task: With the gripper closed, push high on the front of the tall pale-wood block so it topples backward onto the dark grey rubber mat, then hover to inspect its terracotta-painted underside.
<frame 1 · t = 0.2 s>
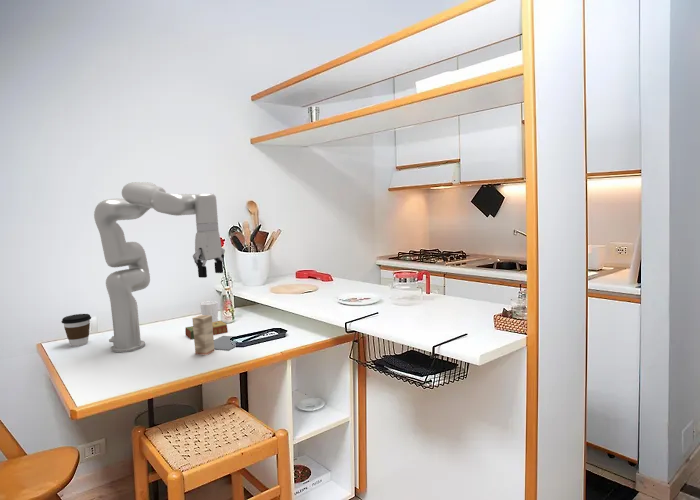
hand: (211, 275, 172), 31 cm above the table, tool pointing down, fingers open, 9 cm apart
white cup: (210, 323, 226), on the table
rubber mat: (225, 343, 192), on the table
carton: (206, 335, 207), on the table
wood block: (205, 352, 181), on the table
coffee cup: (79, 344, 200), on the table
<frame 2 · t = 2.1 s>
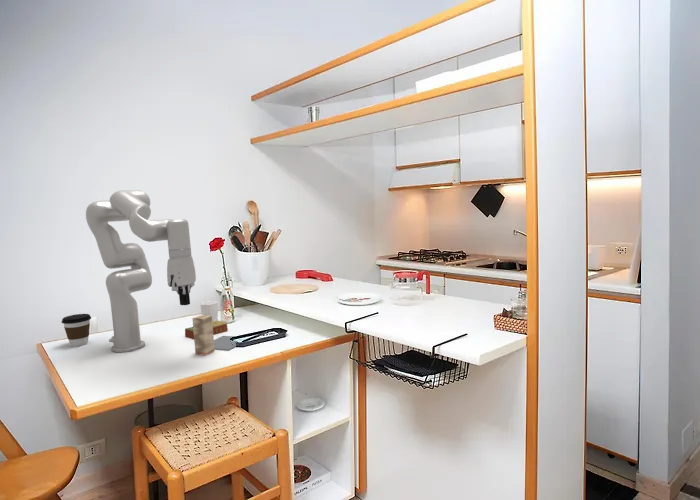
hand: (185, 304, 170), 21 cm above the table, tool pointing down, fingers closed
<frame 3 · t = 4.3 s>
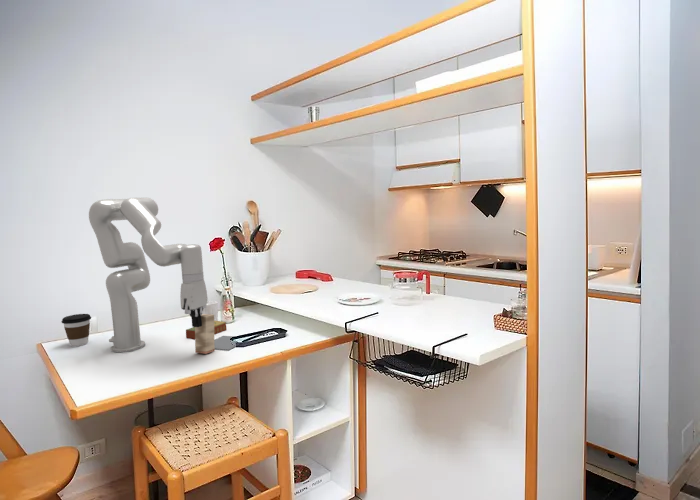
hand: (197, 326, 177), 11 cm above the table, tool pointing down, fingers closed
wood block: (205, 351, 181), on the table, tilted 6°, touching gripper
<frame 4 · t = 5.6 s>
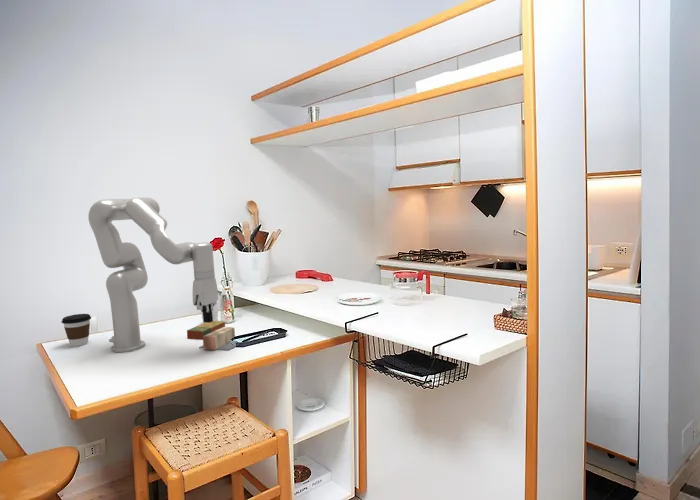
hand: (208, 321, 183), 11 cm above the table, tool pointing down, fingers closed
wood block: (208, 343, 183), point 3 cm above the table, tilted 90°, touching rubber mat
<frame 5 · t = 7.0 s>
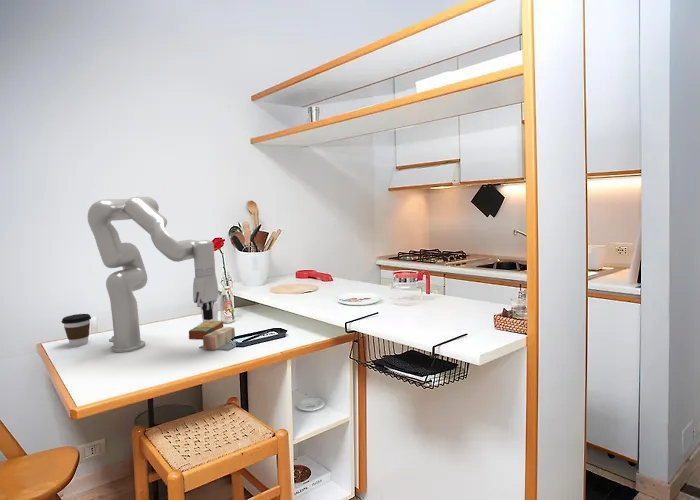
hand: (208, 319, 183), 12 cm above the table, tool pointing down, fingers closed
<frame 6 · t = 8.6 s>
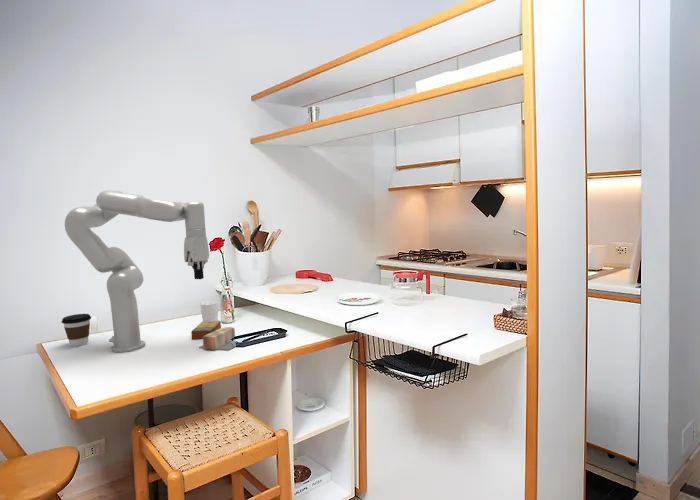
hand: (199, 278, 190), 27 cm above the table, tool pointing down, fingers closed
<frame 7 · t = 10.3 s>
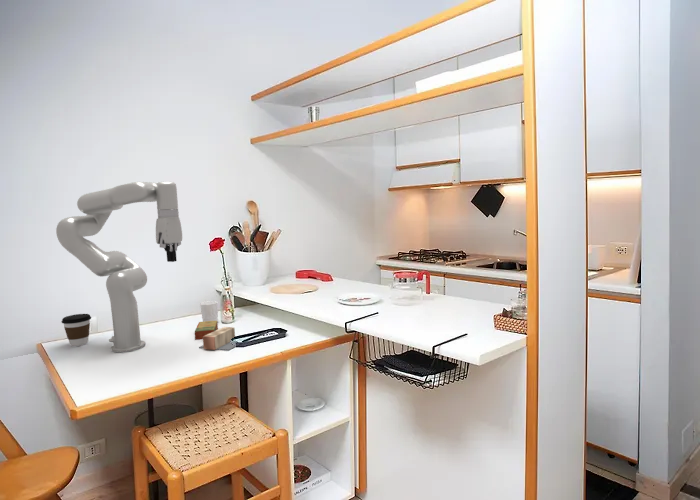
hand: (171, 261, 184), 35 cm above the table, tool pointing down, fingers closed
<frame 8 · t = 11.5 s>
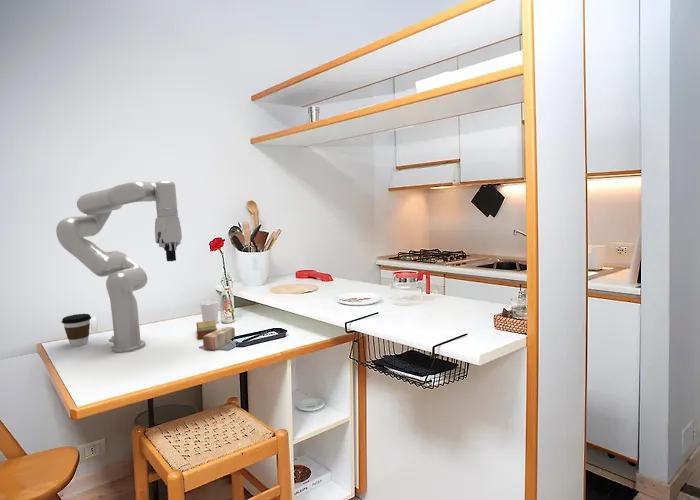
hand: (171, 260, 184), 35 cm above the table, tool pointing down, fingers closed
at the end: wood block tilted 90°; wood block touching rubber mat; wood block inside the target area (0.5 cm from its centre), point 2.9 cm above the table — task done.
